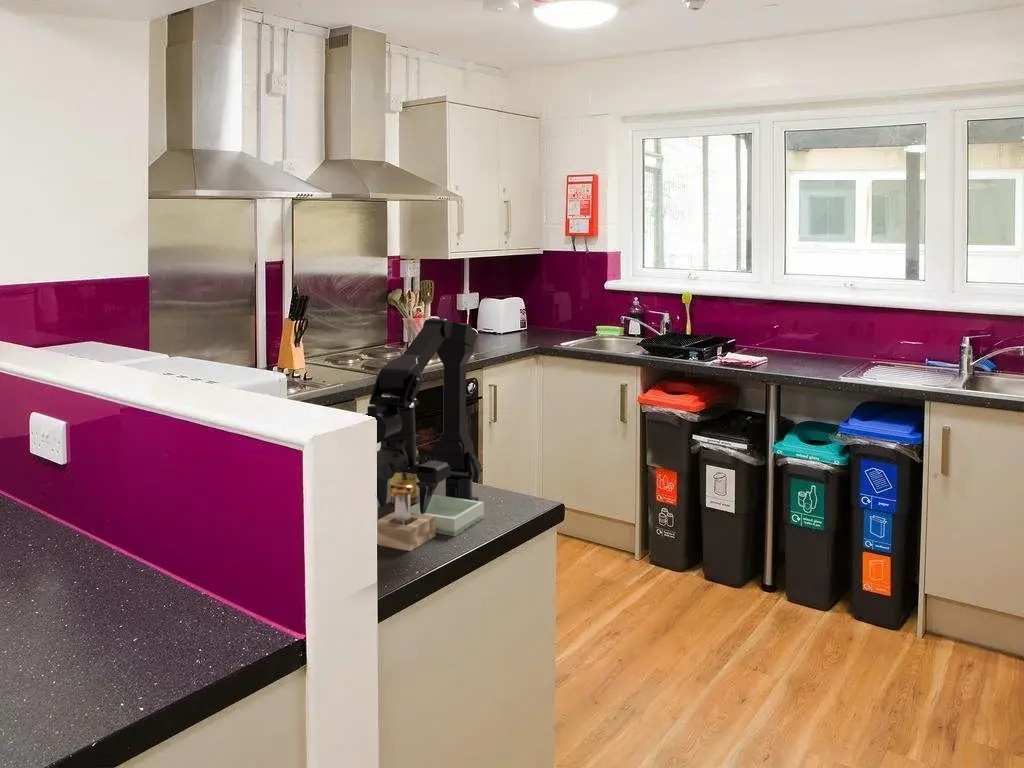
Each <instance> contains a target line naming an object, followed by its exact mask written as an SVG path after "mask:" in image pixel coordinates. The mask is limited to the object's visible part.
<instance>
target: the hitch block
mask: <svg viewBox="0 0 1024 768" xmlns="http://www.w3.org/2000/svg"><path fill="white" fill-rule="evenodd" d="M377 520H378V545H377V546H381V547H388V548H393V549H398V550H403V551H409V552H411V551H413V550H414V549H417V548H418V547H419V546H421V545H423V544H425V543H427V542H428V541H430V540H431V539H434V538H436V534H437V533H436V530H435V517H434V516H428V515H422V514H416V513H411V523H410V524H408V525H401V524H395V511H392V512H391V513H389V514H387V515H385V516H384V517H381V518H380V519H377Z"/></svg>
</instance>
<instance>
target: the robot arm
mask: <svg viewBox="0 0 1024 768" xmlns="http://www.w3.org/2000/svg"><path fill="white" fill-rule="evenodd" d="M476 341H477V332H476V330H475V329H474V328H473V327H472V325H471V324H470V323H460V322H459V323H458V322H455V321H454V322H453V321H451V320H448V319H447V318H434V317H433V318H428V319H425V320H424V322H423V324H422V328H421V329H420V331H419V332H418V333H417V335H416V336H415V337H414V339H412V341H411V343H410V344H409V346H408V347H407V348H406V350H405V351H404V352H403V353H402V355H401V356H399V357H397V358H394V359H392V360H389V361H388V362H387V363H386V364H385V365H384V366H383V367H382V368H381V369H380V371H379V372H378V374H377V377H376V379H375V383H374V386H373V389H372V391H371V392H372V393H371V395H370V398H369V402H368V403H369V405H368V406H367V410H366V411H367V413H365V414H364V415H368V416H372V417H375V418H376V420H377V444H380V447H379V450H377V451H376V452H377V497H376V499H377V501H378V504H379V506H380V508H382V509H383V508H385V507H386V505H387V499H388V498H387V496H388V483H389V482H388V481H390V479H391V478H392V477H393V476H394V474H395V473H401V472H404V473H411V474H417V478H418V482H417V483H416V485H417V486H418V491H419V503H420V512H421V514H424V513H425V512H426V510H427V507H428V505H429V502H430V500H431V497H432V496H433V495H434V493H435V490H436V489H437V487H438V485H439V483H441V482H443V481H445V486H444V488H445V490H444V491H445V494H444V496H446V497H453V498H460V499H466V500H473V501H479V497H477V496H473V480H474V479H478V478H480V475H481V472H482V464H481V462H480V460H479V458H478V457H477V455H476V454H475V451H474V441H473V440H472V439H471V437H470V435H469V434H468V432H467V429H466V428H467V401H466V400H467V364H468V362H469V361H470V358H472V355H473V354H474V352H475V344H476ZM435 354H437V357H438V358H439V360H440V361H441V363H442V364H443V365H442V366H443V381H442V382H443V390H442V391H443V396H442V397H443V403H442V404H443V405H442V406H443V408H442V409H443V411H442V412H443V415H442V417H443V420H442V421H443V422H442V425H443V427H442V428H443V429H442V431H443V432H442V433H441V435H440V436H439V438H438V439H436V440H435V442H434V444H433V447H434V453H433V460H430V461H427V462H425V463H423V464H420V463H419V462H420V461H421V456H420V455H419V454H418V455H416V447H417V443H416V442H418V441H420V435H419V434H416V419H415V418H416V411H415V410H416V409H415V407H416V406H417V405H420V401H419V400H418V399H417V398H416V396H417V394H418V393H419V391H420V388H421V386H422V384H423V382H424V381H423V375H422V373H423V372H424V370H425V368H426V367H427V365H428V364H429V362H430V361H431V359H432V358H433V357H434V356H435ZM416 462H418V464H416Z"/></svg>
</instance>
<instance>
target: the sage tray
mask: <svg viewBox="0 0 1024 768" xmlns="http://www.w3.org/2000/svg"><path fill="white" fill-rule="evenodd" d="M411 513H416V514H421V512H420V502H418V503H415V504H413V505H411ZM422 515H428V516H434V517H435V530H436V534H441V535H446V536H452V537H456V536H458V535H460V534H461V533H462V532H464V531H466V530H467V529H469V528H470V526H471V525H472V526H474V525H476V524H477V523H478V521H479V522H481V519H482V520H484V519H485V503H484V501H479V500H478V501H473V500H466V499H460V498H453V497H446V496H445V495H440V494H439V495H438V494H433V495H432V497H431V500H430V502H429V505H428V507H427V510H426V512H425V513H424V514H422ZM483 518H484V519H483ZM476 522H477V523H476ZM473 524H474V525H473ZM472 526H471V527H472ZM468 527H469V528H468ZM465 529H466V530H465Z"/></svg>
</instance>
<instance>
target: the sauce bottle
mask: <svg viewBox="0 0 1024 768" xmlns="http://www.w3.org/2000/svg"><path fill="white" fill-rule="evenodd" d="M416 455H419V449H418V447H417V446H416ZM416 464H419V461H418V462H416ZM400 482H407V483H412V484H413V485H414V491H413V492H411V493H410V506H412V505H415V504H416V503H417V502H418V499H419V488H418V486H417V485H416V483H417V482H419V479H418V478H417V474H411V473H404V472H401V473H395V474H394V476H393V477H392V478H391V479H389V495H390V502H391V504H393V505H395V494H394V493H392V492H391V485H392V484H394V483H400Z"/></svg>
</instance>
